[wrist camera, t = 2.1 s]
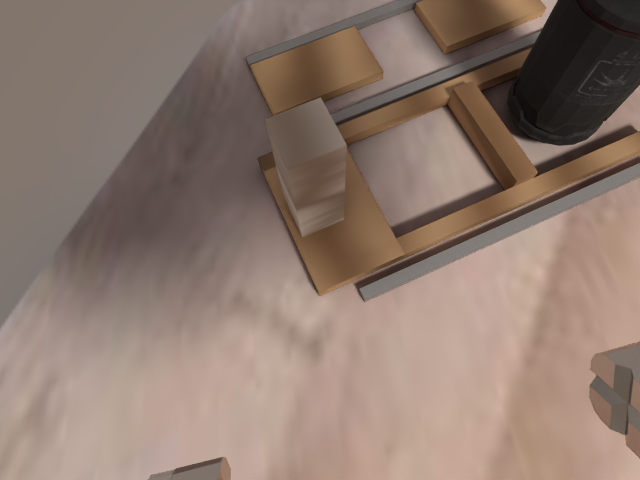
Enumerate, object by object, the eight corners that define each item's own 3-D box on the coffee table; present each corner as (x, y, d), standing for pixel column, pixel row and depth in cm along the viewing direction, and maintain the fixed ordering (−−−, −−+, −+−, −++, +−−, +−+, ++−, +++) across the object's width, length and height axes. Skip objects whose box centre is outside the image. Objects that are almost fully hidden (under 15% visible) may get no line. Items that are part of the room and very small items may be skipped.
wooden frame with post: (566, 41, 35) (649, -92, 26) (654, 146, 32) (788, 37, 22) (259, 165, 32) (228, 66, 23) (319, 296, 29) (310, 243, 19)
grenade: (514, 162, 32) (655, -32, 18) (490, 87, 34) (597, -136, 20) (613, 148, 32) (831, -55, 18) (582, 75, 34) (753, -156, 20)
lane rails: (496, -31, 38) (498, -38, 38) (660, 167, 31) (666, 163, 31) (247, 62, 36) (245, 56, 35) (364, 301, 29) (365, 299, 28)
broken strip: (508, -25, 38) (511, -34, 37) (541, 15, 36) (546, 7, 36) (251, 72, 35) (250, 65, 35) (275, 120, 34) (274, 113, 33)
